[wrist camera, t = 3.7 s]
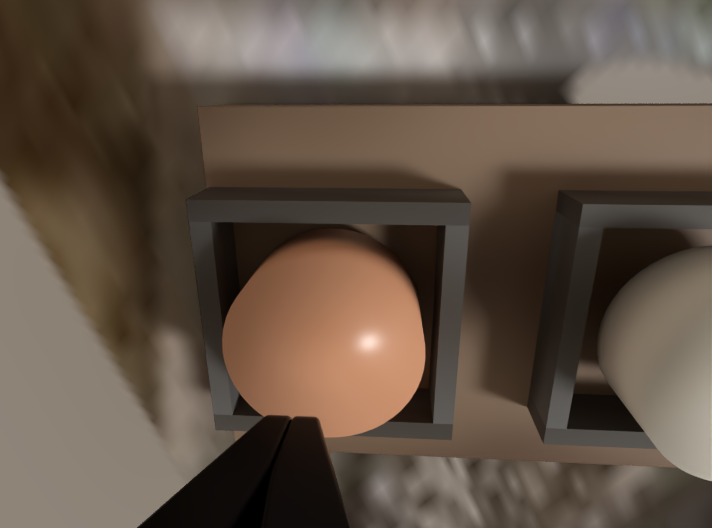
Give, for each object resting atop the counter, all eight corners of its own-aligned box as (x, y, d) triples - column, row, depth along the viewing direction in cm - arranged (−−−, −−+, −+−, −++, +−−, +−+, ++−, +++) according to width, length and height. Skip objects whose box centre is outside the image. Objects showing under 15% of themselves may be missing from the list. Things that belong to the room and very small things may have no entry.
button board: (979, 435, 15) (1144, 532, 12) (253, 406, 16) (219, 485, 13) (1164, 102, 11) (1474, 106, 8) (224, 104, 13) (169, 108, 10)
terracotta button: (415, 385, 13) (420, 441, 11) (256, 379, 13) (231, 433, 11) (423, 229, 11) (430, 260, 9) (243, 227, 12) (211, 256, 10)
